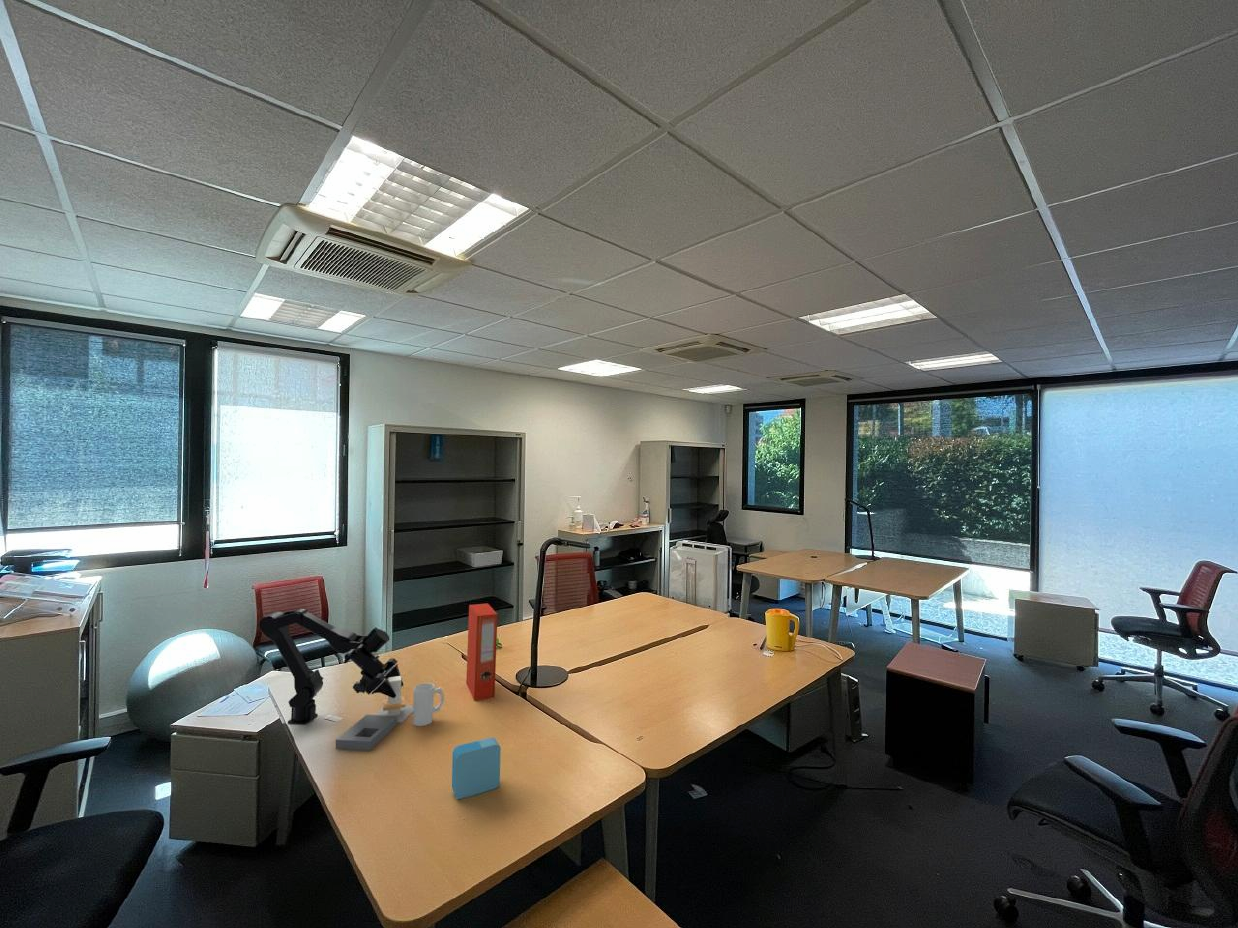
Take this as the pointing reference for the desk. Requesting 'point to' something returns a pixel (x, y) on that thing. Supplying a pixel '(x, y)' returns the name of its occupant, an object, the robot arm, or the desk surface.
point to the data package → (475, 767)
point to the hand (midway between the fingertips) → (398, 691)
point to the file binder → (481, 651)
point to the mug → (425, 703)
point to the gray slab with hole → (366, 732)
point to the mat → (403, 714)
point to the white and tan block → (397, 702)
